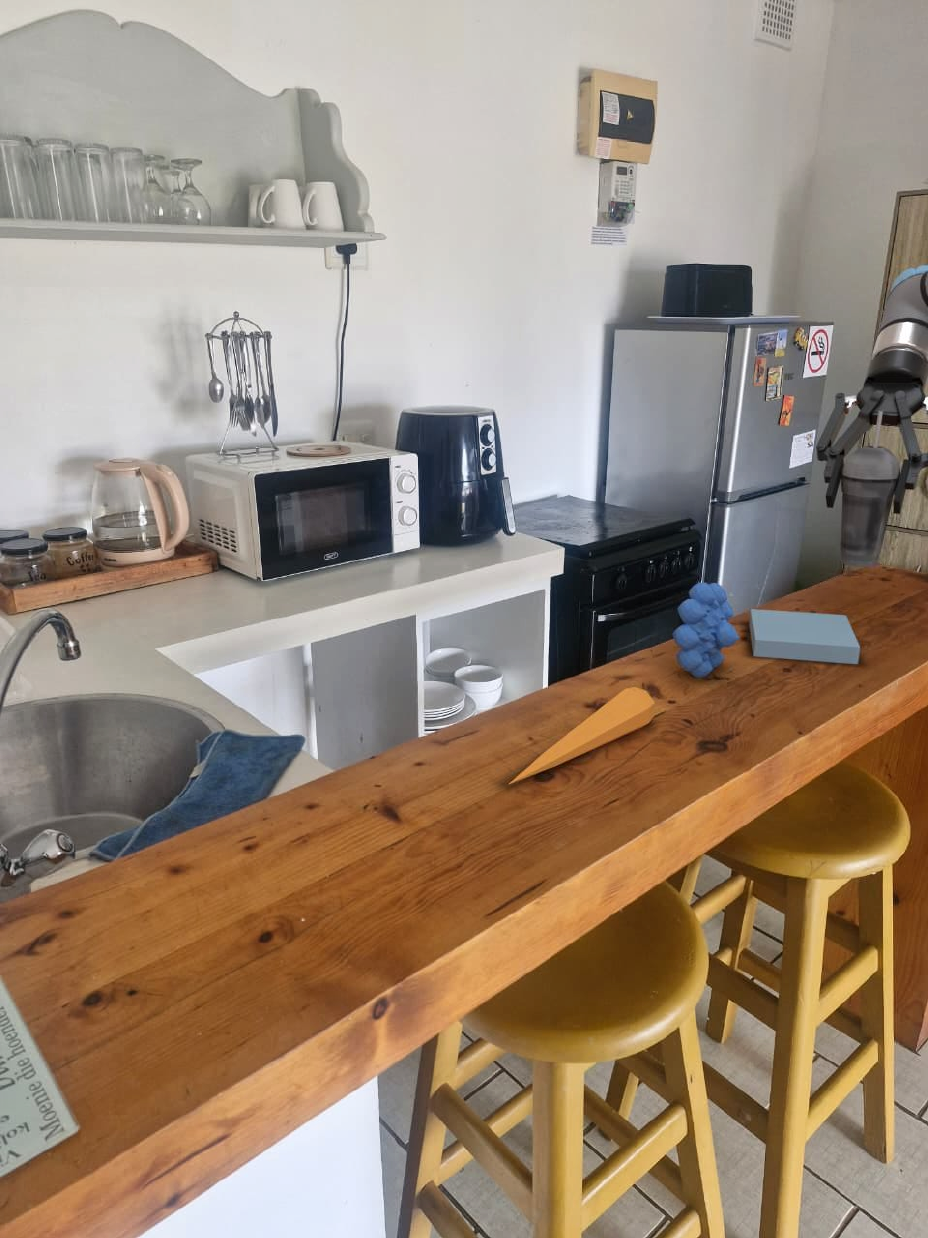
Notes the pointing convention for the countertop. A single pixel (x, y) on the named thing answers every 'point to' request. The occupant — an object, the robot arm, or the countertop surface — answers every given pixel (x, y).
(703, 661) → the grapes
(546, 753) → the carrot
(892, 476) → the beverage cup
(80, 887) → the countertop surface
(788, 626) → the foam pad
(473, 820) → the countertop surface
